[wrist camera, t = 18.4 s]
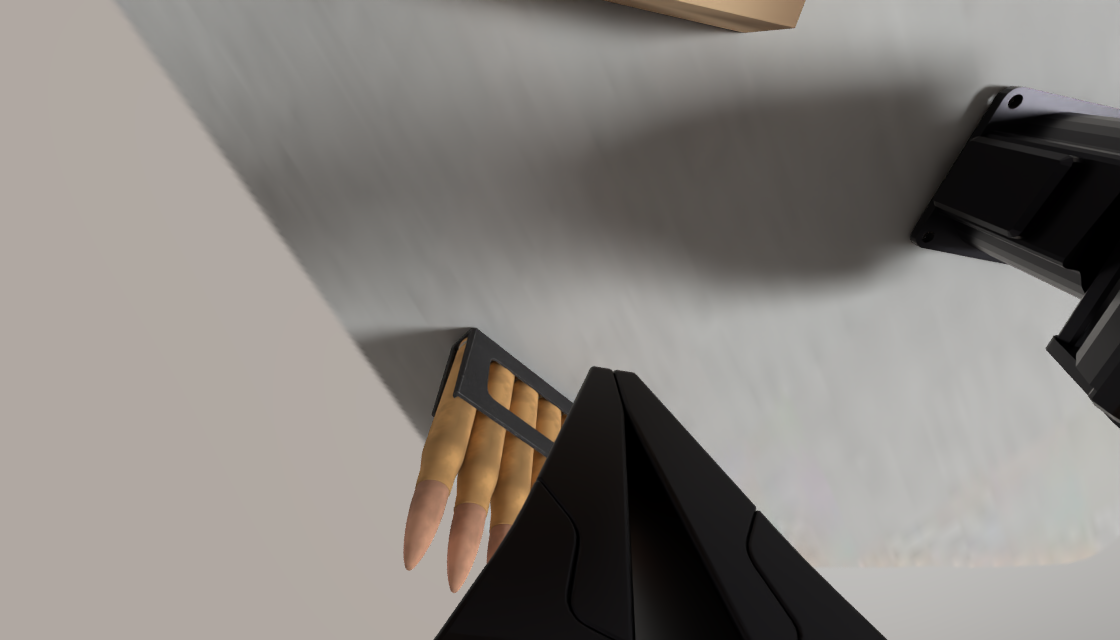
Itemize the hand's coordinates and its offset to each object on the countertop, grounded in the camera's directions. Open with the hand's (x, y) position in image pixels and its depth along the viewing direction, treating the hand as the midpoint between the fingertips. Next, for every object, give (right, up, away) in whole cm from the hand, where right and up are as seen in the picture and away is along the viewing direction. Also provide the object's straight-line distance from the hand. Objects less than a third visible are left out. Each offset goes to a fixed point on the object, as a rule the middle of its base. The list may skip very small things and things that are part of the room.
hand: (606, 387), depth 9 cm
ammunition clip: (-2, -3, +17) cm, 18 cm away
